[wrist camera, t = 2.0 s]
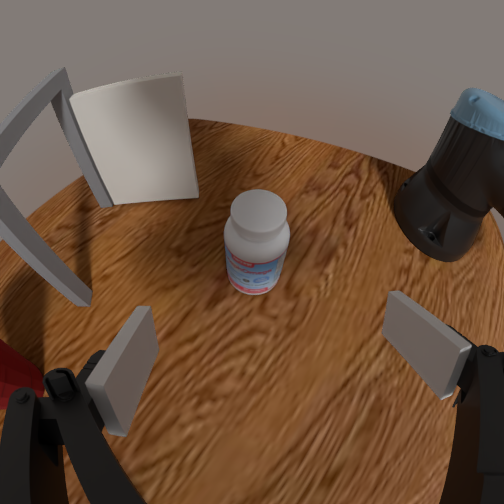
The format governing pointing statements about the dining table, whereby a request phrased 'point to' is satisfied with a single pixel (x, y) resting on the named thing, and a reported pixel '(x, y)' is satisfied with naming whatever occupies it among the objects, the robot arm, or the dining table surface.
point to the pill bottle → (256, 241)
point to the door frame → (17, 122)
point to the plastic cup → (17, 374)
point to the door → (139, 138)
